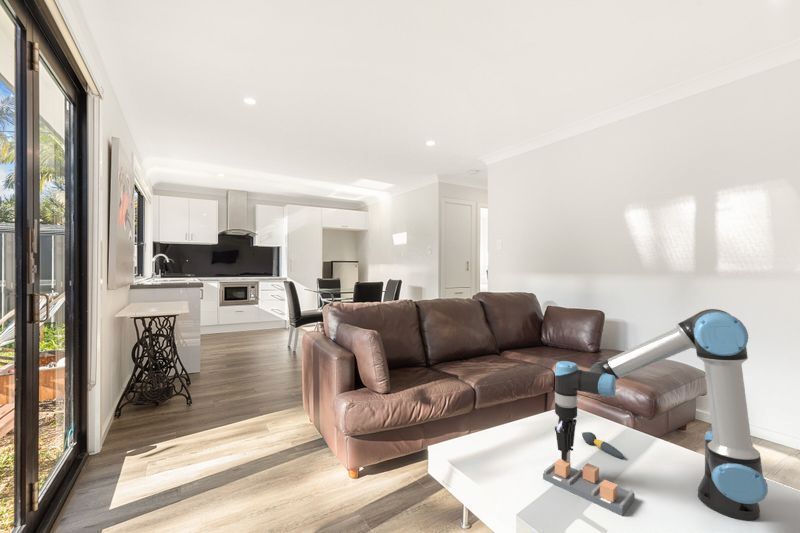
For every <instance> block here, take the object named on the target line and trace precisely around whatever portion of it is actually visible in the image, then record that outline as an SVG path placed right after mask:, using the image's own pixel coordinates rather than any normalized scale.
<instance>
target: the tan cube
mask: <svg viewBox="0 0 800 533" xmlns="http://www.w3.org/2000/svg"><path fill="white" fill-rule="evenodd" d="M554 463H555V474H557V475H559V476H561V477H564V478H567V477H568V476H569V475H570V474H571V462H570V463H569V462H566V461H564V460H561V458H559V459H558V461H557V460H556V461H555V462H554Z"/></svg>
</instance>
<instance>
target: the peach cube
mask: <svg viewBox="0 0 800 533" xmlns="http://www.w3.org/2000/svg"><path fill="white" fill-rule="evenodd" d="M582 470H583V479H586V480H588V481H590V482H593V483H595V482H596V481H597V480H598V479H600V467H598V466H596V465H593V464H590V463H588V462H587V463H585V465H584V466H582Z"/></svg>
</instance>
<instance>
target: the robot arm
mask: <svg viewBox="0 0 800 533" xmlns="http://www.w3.org/2000/svg"><path fill="white" fill-rule="evenodd" d="M748 342H749V332H748V329H747V328H746V326H745V325H744V323H743V322H742V321H741V320H740V319H739V318H738V317H735V316H734V315H732V314H730V313H728V312H726V311H725V310H722V309H717V308H707V309H704V310H701V311H699V312H697V313H695V314H693V315H692V316H690V317H689V318H686V319H685V320H683V321H680V322H678V323H676V327H675V328H673V329H671V330H669V331H666V332H665V333H662V334H660V335H658V336H656V337H654V338H652V339H649V340H646V341H644V342H642V343H640V344H639V345H636V346H634V347H632V348H629V349H627V350H625V351H623V352H620V353H618V354H616V355H614V356H612V357H610V358H607V359H605V360H603V361H598V362H595V363H594V364H593V365H592V366H591V367H590V370H589V371H588V370H582V369H579V365H578V364H577V363H575V362H572V361H568V360H561V361H557V363H555V373H554V379H555V380H554V381H555V384H554V387H555V388H554V389H555V390H554V394H553V395H554V399H555V400H554V401H555V404H554V413H555V415H557V416H558V421H557V422H558V423H557V424H558V426H554V432H555V436H556V443H557V444H556V445H557V451H560V453H561V454H560V459H561V460H564V461H566V462H569V463H571V451H572V452H573V451H574V448H573V447H574V442H575V435H576V434H575V433H576V425H577V422H578V421H577V419H575V418H577V417H578V392H582V393H585V394H586V393H588V394H592V395H598V396H601V397H611V398H612V397H614V396H615V395H616V391H617V390H616V386H617V385H616V384H617V383H616V382H617V381H616V380H619V379H620V378H623V377H626V376H628V375H630V374H633V373H635V372H637V371H640V370H643V369H645V368H646V367H649V366H652V365H654V364H656V363H659V362H661V361H663V360H665V359H668V358H670V357H674V356H676V355H678V354H680V353H682V352H685V351H687V350H690V349H695V350H696V351H695V352H696V357H697V358H698V359H700V360H701V361H702V362H703V366H704V367H703V368H704V373H705V374H704V375H705V381H706V382H705V384H706V389H707V392H706V393H707V398H708V400H707V401H708V406H709V407H708V408H709V415H710V422H711V424H710V425H711V430H707V431H706V432H705V434H704V435H705V436H704V439H703V440H704V475H703V477H702V479H701V481H700V483H699V484H698V487H697V497H698V499H699V500H700V501H701V502H702V503H703V504H704V505H705V506H706V507H707V508H709V509H711V510H713V511H715V512H718V513H719V514H721V515H723V516H727V517H730V518H733V519H737V520H742V521H754V520H757V519H759V518H761V516H760V515H761V513H760V512H761V508H760V504H759V502H761V501H763V500H764V499H766V497H767V495H768V492H769V491H768V490H769V488H768V487H769V486H768V482H767V481H766V478H765V477H764V473H763V466H762V461H761V460H762V458H761V453H760V451H759V450H758V449H756V448H755V446H754V445H753V442H752V436H751V428H750V419H749V413H748V404H747V398H746V390H745V389H746V388H745V382H744V381H745V380H744V372H743V366H742V365H743V363H745V362H746V361H747V360H748V358H749V356H748V350H747V349H748V348H747V345H748Z"/></svg>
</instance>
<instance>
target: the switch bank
mask: <svg viewBox="0 0 800 533" xmlns="http://www.w3.org/2000/svg"><path fill="white" fill-rule="evenodd" d="M558 460H559V459H558ZM558 460H556V461H558ZM542 480H544V481H545V482H548V483H550V484H552V485H555V486H557V487H559V488H561V489H564V490H565V491H567V492H569V493H572V494H573V495H576V496H578V497H580V498H582V499H585V500H586V501H589V502H590V503H591V502H592V503H593V504H596V505H598V506H599V507H602V508H604V509H606V510H608V511H610V512H613V513H615V514H617V515H619V516H621V517H622V516H623V515H624V514H625V513H626V511H627V510H628V509H629V508H630V506H631V505H632V503H634V502H635V496H636V494H635V491H634V490H632V489H631V490H630V491H629V490H627V489H624V488H622V487H619V486H618V497H617V498H616V499H615V501H614V502H612V501H609V500H607V499H605V498H603V497H600V484H601V483H602V482H603V481H604V480H606V479H605V478H603V479H601V478H599V479H598V480H597V481H596V482H595V483H593V482H590V481H588V480H586V479H583V469H579V470H578V469H577V468H575V467H571V474H570V475H569V476H568V477H567V478H564V477H561V476H559V475H557V474H555V462H553V463H552V464H551V465H549V466H548V467H547V468H545V469H544V470H543V473H542Z"/></svg>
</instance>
